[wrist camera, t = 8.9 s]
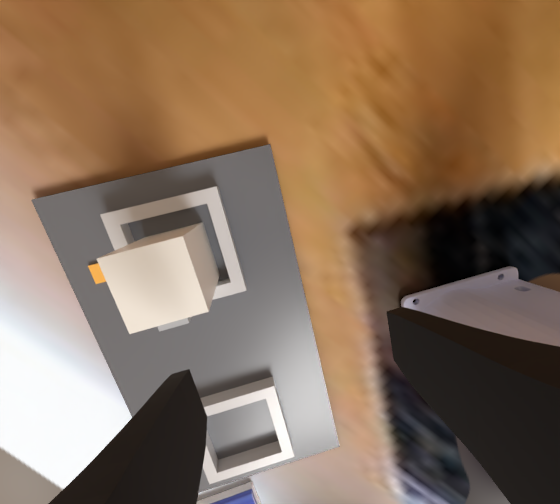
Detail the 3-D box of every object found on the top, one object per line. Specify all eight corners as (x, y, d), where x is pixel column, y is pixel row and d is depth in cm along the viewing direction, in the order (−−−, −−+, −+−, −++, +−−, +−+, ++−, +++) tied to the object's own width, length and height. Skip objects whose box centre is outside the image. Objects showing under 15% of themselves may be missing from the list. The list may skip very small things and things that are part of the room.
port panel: (269, 145, 16) (271, 141, 15) (337, 441, 22) (344, 458, 21) (38, 199, 15) (16, 200, 14) (173, 494, 21) (167, 516, 20)
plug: (202, 222, 16) (182, 236, 11) (221, 280, 17) (211, 319, 12) (145, 237, 16) (96, 258, 11) (167, 295, 17) (132, 342, 12)
